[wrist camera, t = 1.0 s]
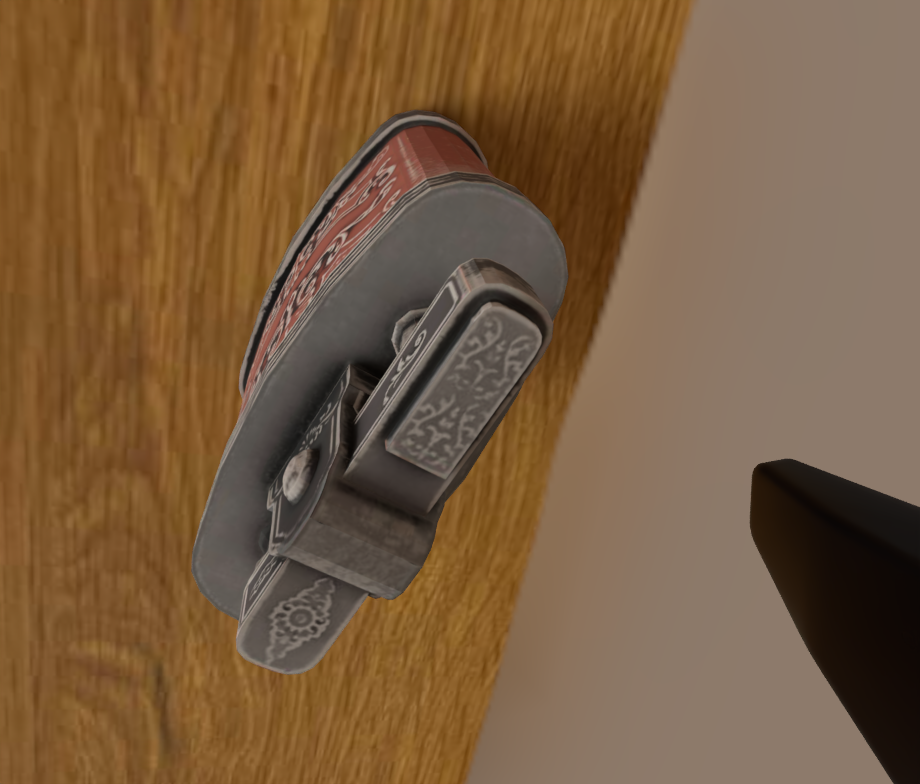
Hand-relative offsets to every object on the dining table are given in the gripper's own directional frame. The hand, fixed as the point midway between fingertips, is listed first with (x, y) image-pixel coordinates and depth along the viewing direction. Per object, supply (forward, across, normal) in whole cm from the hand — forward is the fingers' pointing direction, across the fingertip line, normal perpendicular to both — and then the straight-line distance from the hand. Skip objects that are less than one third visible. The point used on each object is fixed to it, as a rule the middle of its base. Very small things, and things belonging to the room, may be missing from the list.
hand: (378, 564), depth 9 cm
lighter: (+11, 0, 0) cm, 11 cm away
